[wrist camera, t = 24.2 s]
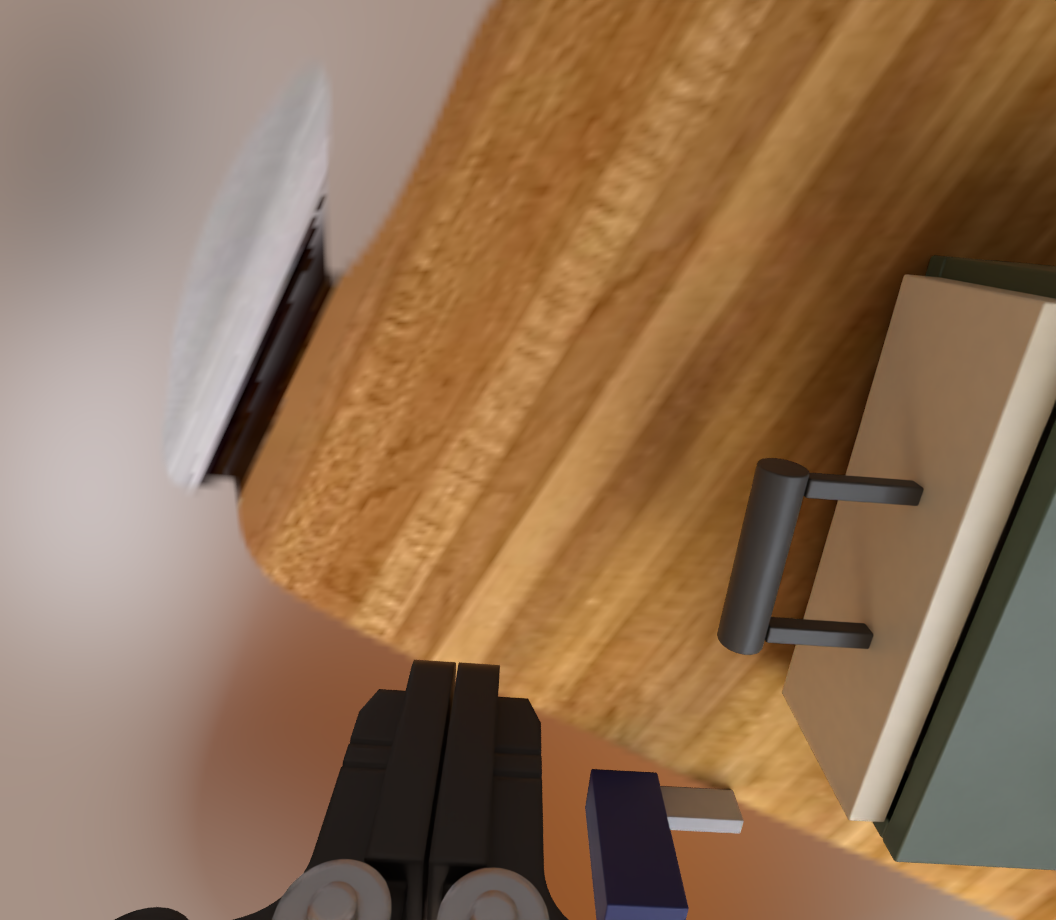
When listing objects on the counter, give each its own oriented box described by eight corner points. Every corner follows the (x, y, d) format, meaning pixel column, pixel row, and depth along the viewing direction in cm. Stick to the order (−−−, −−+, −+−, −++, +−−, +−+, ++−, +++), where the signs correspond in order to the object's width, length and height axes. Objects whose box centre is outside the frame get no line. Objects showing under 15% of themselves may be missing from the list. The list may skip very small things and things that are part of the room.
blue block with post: (591, 768, 29) (606, 904, 23) (736, 776, 29) (787, 913, 23) (584, 807, 30) (599, 947, 24) (726, 814, 30) (772, 955, 24)
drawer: (666, 685, 26) (703, 813, 20) (753, 261, 20) (840, 284, 14) (1102, 712, 26) (1250, 843, 21) (1319, 310, 20) (1606, 350, 15)
